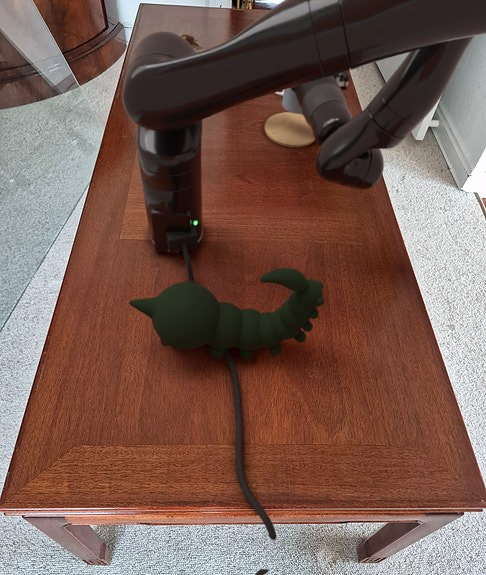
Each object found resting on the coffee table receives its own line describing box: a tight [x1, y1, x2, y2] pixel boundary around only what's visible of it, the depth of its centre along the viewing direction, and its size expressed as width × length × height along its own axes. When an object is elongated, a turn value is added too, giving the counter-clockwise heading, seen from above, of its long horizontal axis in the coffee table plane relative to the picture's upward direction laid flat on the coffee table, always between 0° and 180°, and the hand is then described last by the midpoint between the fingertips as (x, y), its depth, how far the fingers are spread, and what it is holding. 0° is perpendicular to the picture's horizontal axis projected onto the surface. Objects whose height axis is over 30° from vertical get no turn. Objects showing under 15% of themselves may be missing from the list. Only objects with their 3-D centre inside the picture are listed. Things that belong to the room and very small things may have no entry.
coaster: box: [264, 111, 316, 148], centre depth 102 cm, size 12×12×1 cm
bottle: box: [281, 88, 303, 115], centre depth 90 cm, size 6×6×17 cm
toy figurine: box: [128, 267, 326, 361], centre depth 62 cm, size 9×19×25 cm
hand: (301, 57), depth 91 cm, fingers closed on bottle, 6 cm apart
